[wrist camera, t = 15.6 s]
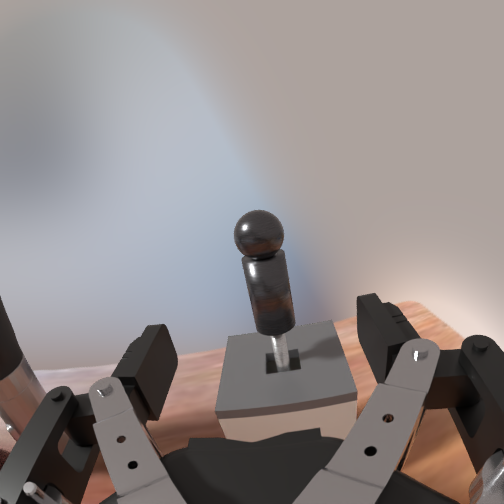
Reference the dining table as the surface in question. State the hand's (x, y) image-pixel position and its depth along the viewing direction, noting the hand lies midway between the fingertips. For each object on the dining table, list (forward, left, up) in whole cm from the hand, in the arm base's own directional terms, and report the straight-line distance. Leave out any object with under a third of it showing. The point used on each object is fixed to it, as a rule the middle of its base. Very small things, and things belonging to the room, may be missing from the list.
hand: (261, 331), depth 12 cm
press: (+9, +6, -27) cm, 30 cm away
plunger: (+9, +6, -24) cm, 26 cm away
